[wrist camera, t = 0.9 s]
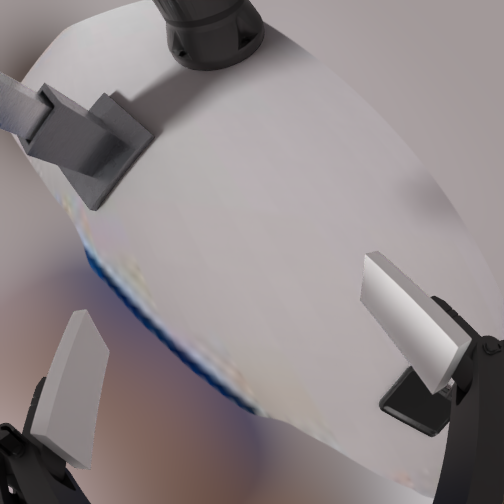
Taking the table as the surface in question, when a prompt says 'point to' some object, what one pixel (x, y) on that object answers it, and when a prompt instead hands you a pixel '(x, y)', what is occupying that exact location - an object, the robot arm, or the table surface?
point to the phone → (417, 404)
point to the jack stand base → (88, 143)
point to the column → (22, 108)
